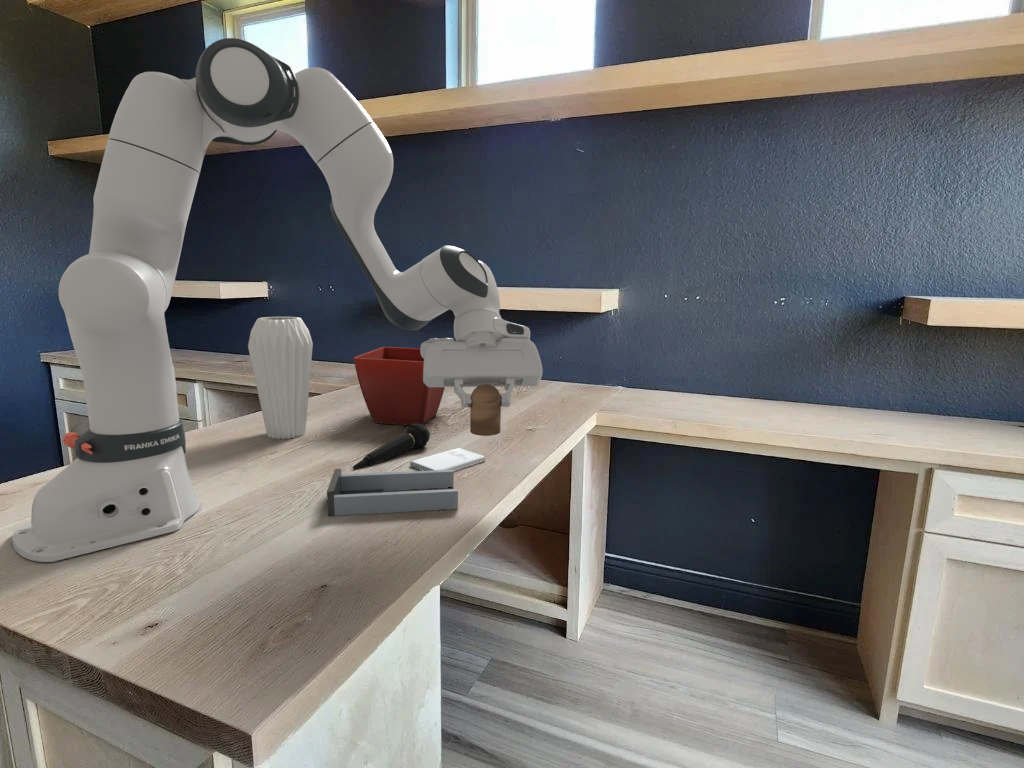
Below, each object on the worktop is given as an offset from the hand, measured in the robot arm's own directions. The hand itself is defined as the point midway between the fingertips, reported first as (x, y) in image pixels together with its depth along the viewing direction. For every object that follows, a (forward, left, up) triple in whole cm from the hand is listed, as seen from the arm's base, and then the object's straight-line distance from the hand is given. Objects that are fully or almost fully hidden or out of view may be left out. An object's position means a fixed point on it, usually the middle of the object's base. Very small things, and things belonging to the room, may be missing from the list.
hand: (486, 405), depth 93 cm
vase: (-2, +58, -16) cm, 60 cm away
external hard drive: (+8, +16, -17) cm, 25 cm away
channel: (-11, +11, -16) cm, 22 cm away
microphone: (+4, +29, -16) cm, 33 cm away
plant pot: (+25, +48, -16) cm, 56 cm away
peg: (0, 0, -5) cm, 5 cm away
